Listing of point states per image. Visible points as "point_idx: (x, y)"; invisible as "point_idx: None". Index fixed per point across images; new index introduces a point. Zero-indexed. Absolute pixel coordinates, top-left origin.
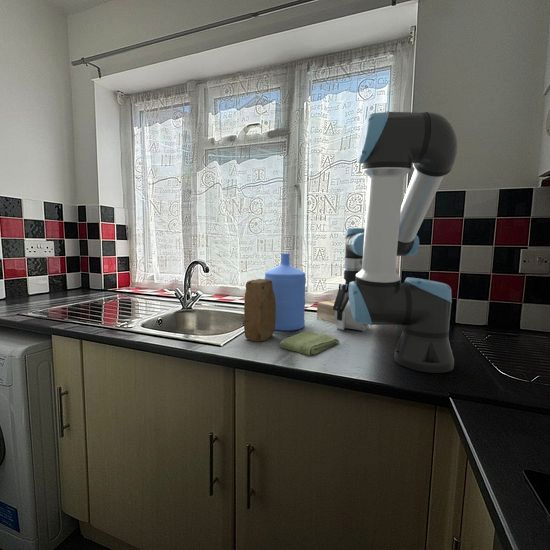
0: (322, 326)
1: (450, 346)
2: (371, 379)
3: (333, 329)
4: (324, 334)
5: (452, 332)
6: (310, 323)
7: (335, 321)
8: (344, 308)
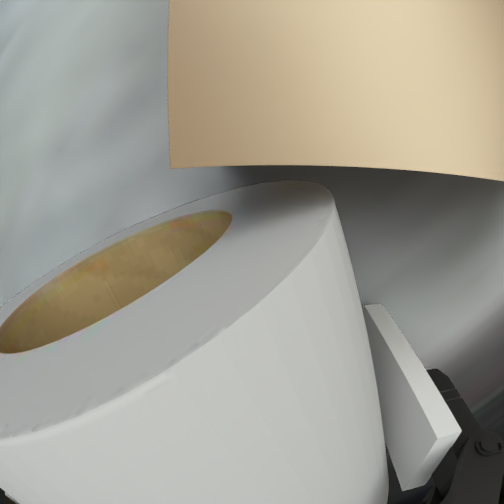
0: (27, 134)
1: None
2: (16, 501)
3: (51, 259)
4: None
5: None
6: (21, 12)
7: (32, 286)
8: (2, 491)
